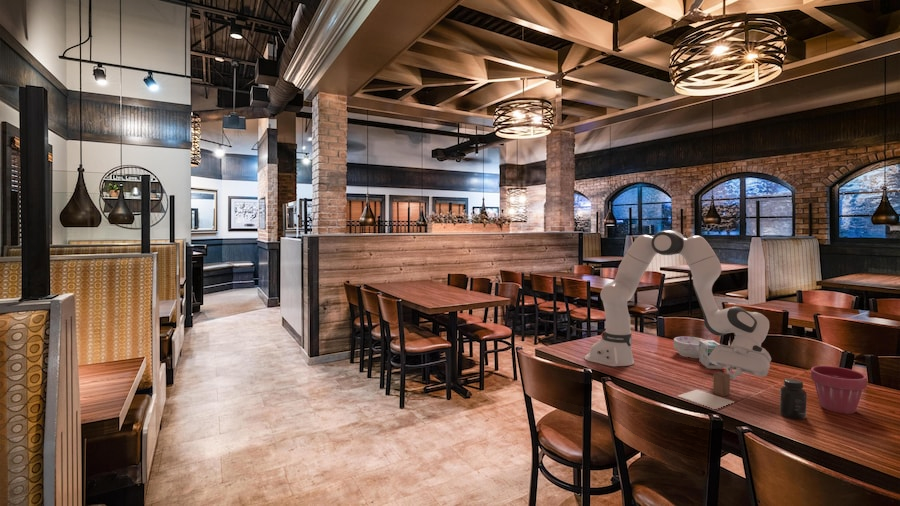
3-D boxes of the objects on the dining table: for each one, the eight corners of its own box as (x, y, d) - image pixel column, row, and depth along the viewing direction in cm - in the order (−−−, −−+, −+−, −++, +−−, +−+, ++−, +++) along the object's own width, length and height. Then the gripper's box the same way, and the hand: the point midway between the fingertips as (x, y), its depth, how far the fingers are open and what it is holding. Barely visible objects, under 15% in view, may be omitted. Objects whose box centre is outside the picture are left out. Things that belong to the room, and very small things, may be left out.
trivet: (696, 390, 163) (696, 389, 163) (734, 402, 151) (735, 401, 151) (677, 396, 158) (677, 395, 158) (715, 410, 146) (715, 408, 146)
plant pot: (852, 420, 135) (853, 381, 135) (801, 404, 148) (802, 369, 148) (874, 412, 141) (875, 374, 140) (824, 397, 154) (824, 363, 153)
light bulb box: (724, 369, 187) (724, 345, 186) (707, 368, 188) (707, 345, 188) (714, 362, 197) (714, 339, 197) (698, 361, 199) (698, 339, 198)
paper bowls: (696, 362, 198) (696, 345, 198) (666, 354, 212) (666, 338, 211) (715, 357, 205) (715, 341, 205) (685, 349, 219) (685, 334, 218)
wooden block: (712, 393, 160) (712, 372, 160) (719, 391, 162) (719, 371, 161) (723, 397, 157) (723, 376, 156) (730, 395, 158) (730, 374, 158)
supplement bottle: (774, 412, 143) (775, 377, 142) (793, 410, 143) (793, 376, 143) (792, 421, 136) (793, 384, 135) (812, 419, 137) (812, 383, 136)
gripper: (714, 338, 174) (699, 365, 170) (770, 350, 156) (755, 381, 151) (720, 347, 176) (706, 374, 172) (776, 360, 158) (762, 390, 154)
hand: (729, 377), depth 162 cm, fingers closed
